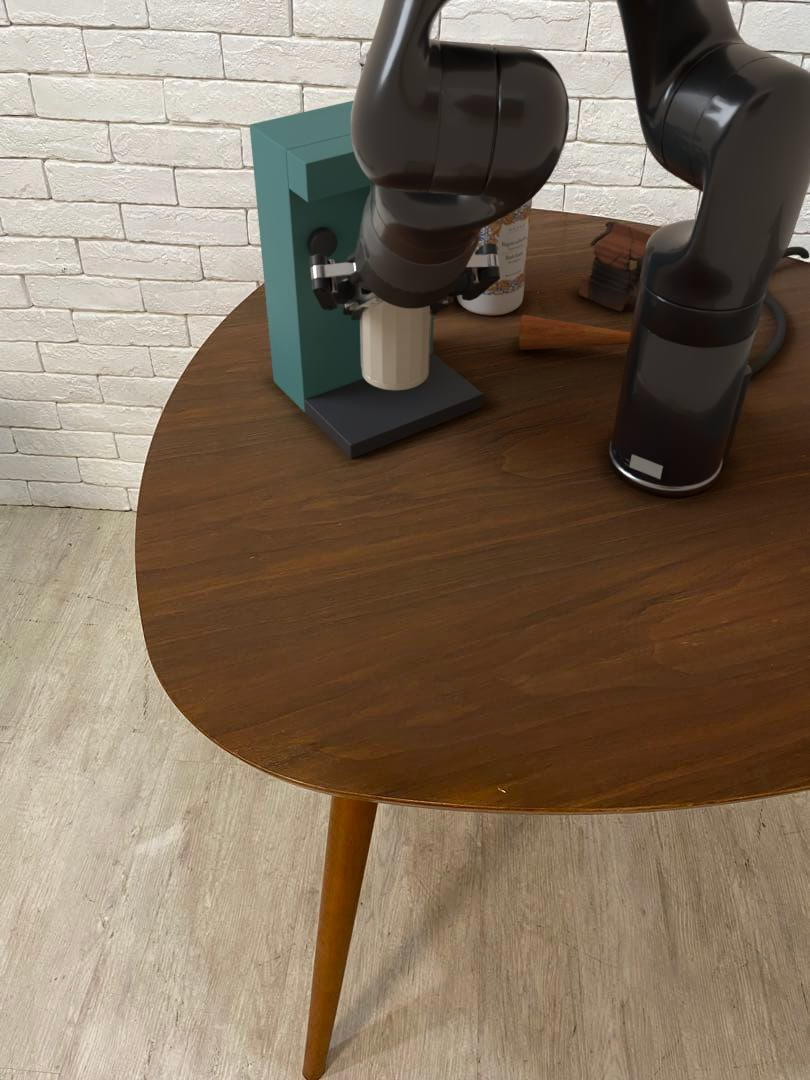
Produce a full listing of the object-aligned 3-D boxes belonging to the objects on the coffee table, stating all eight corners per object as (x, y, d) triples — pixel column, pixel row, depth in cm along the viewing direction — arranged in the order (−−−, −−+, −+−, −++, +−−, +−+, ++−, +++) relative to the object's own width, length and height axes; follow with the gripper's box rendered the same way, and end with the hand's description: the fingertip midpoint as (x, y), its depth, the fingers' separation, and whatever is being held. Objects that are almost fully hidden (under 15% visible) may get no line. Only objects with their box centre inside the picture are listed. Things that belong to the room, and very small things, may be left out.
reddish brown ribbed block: (555, 287, 112) (584, 211, 110) (621, 310, 117) (650, 237, 115) (620, 313, 103) (653, 230, 100) (689, 336, 107) (722, 257, 105)
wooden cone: (526, 292, 103) (738, 302, 98) (524, 350, 106) (730, 362, 102) (518, 312, 98) (741, 323, 94) (516, 373, 101) (732, 385, 97)
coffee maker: (398, 338, 104) (398, 89, 88) (482, 407, 95) (500, 145, 79) (273, 381, 98) (248, 124, 82) (351, 459, 90) (340, 188, 73)
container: (348, 377, 86) (345, 278, 80) (384, 346, 90) (384, 249, 84) (406, 398, 84) (407, 297, 78) (441, 365, 88) (445, 267, 82)
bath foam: (482, 324, 106) (494, 125, 92) (443, 295, 110) (449, 101, 97) (536, 305, 109) (555, 109, 95) (495, 278, 113) (509, 87, 99)
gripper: (520, 171, 69) (474, 254, 86) (301, 183, 67) (299, 265, 84) (531, 283, 69) (484, 344, 86) (312, 298, 67) (307, 357, 84)
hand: (392, 305), depth 85 cm, fingers closed on container, 5 cm apart
